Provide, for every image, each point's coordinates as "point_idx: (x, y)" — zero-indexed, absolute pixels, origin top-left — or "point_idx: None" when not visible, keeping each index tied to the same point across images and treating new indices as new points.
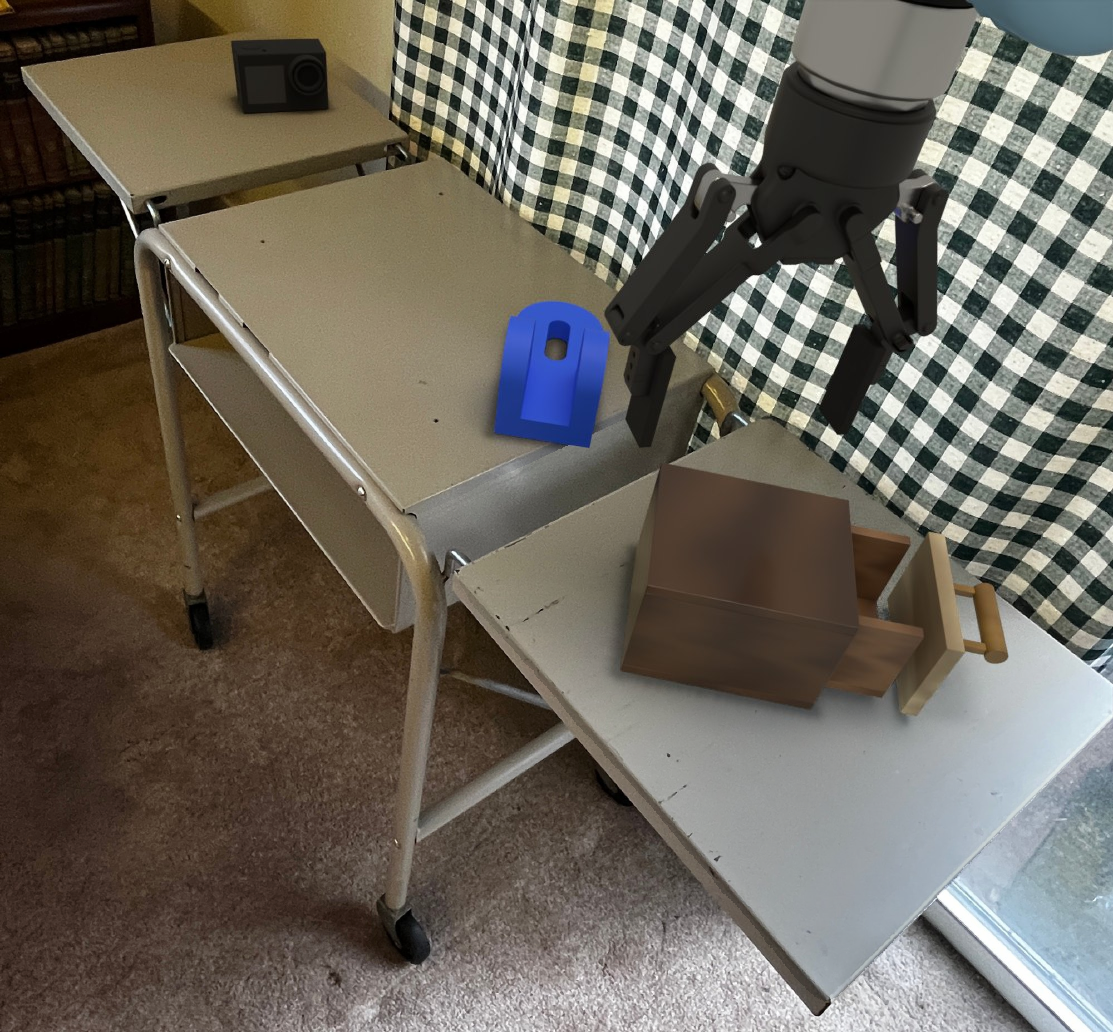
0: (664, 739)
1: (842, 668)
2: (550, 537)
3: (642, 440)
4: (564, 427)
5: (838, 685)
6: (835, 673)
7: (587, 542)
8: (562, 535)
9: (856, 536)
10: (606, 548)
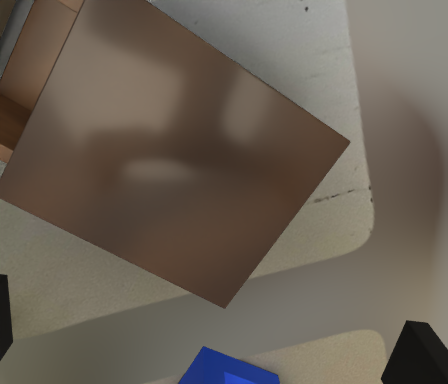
0: (300, 27)
1: None
2: (286, 265)
3: (434, 335)
4: (227, 370)
5: None
6: None
7: None
8: (274, 264)
9: (5, 143)
10: None
